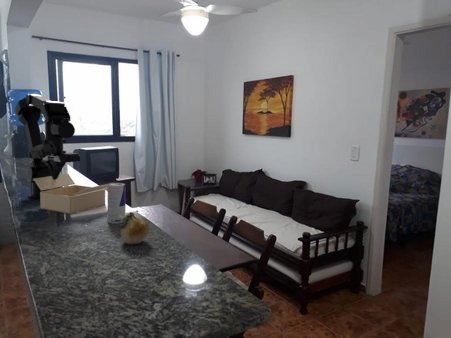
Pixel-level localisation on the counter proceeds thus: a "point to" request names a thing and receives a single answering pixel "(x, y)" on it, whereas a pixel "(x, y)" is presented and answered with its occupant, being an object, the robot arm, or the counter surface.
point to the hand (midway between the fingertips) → (54, 179)
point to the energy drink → (116, 202)
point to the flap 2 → (92, 189)
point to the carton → (71, 199)
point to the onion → (133, 229)
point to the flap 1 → (53, 182)
